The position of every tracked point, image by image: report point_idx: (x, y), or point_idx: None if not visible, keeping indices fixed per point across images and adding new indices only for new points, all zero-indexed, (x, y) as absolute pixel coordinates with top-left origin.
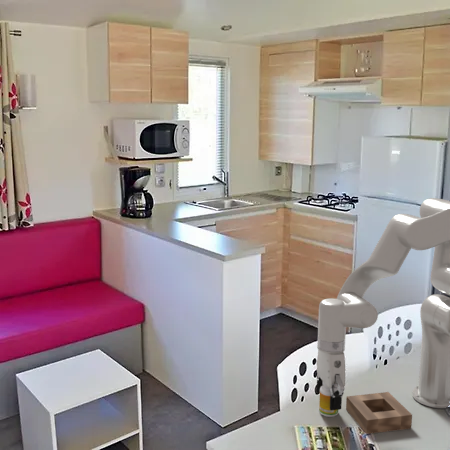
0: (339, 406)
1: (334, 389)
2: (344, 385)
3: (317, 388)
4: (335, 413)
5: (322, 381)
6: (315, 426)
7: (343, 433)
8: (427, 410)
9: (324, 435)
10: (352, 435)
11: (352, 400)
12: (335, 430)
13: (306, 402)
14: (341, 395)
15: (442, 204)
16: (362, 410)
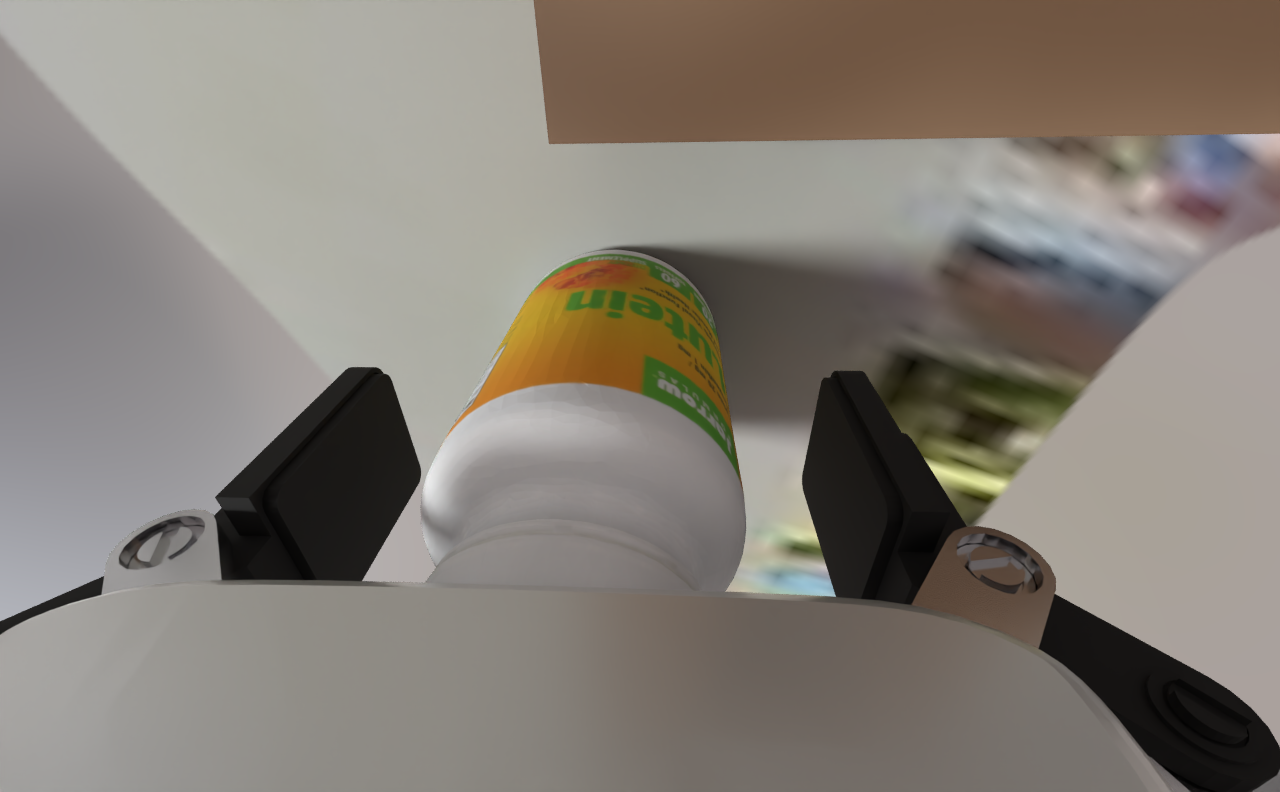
0: (906, 439)
1: (686, 550)
2: (1116, 717)
3: (387, 523)
4: (714, 324)
5: (317, 562)
6: (807, 508)
7: (1022, 353)
8: None
9: (953, 495)
10: (1110, 285)
11: (714, 89)
12: (937, 398)
13: (421, 453)
14: (1114, 637)
15: None
16: (1141, 55)
